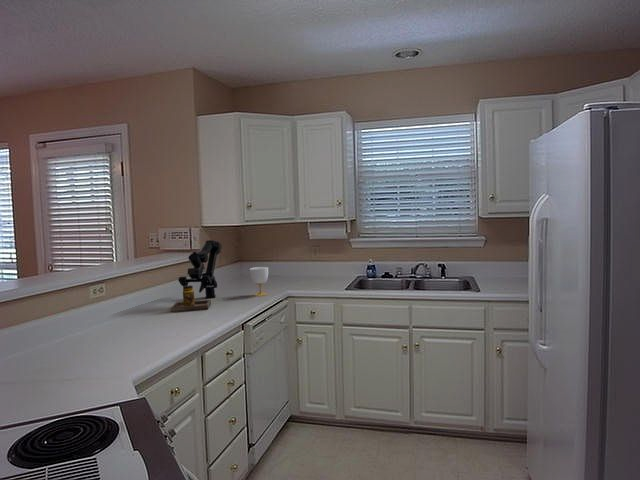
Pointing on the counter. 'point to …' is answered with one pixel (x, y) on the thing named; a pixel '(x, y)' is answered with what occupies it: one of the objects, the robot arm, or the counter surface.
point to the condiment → (188, 296)
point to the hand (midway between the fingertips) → (192, 292)
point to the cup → (259, 277)
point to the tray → (200, 306)
